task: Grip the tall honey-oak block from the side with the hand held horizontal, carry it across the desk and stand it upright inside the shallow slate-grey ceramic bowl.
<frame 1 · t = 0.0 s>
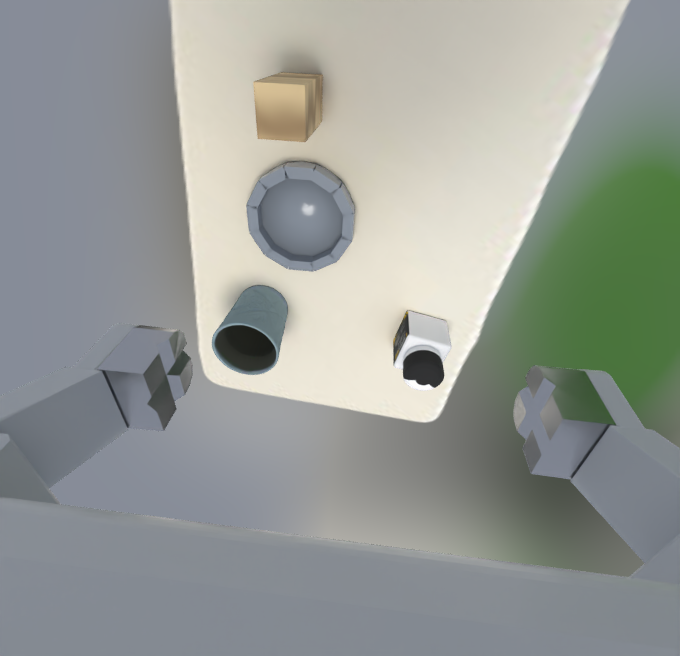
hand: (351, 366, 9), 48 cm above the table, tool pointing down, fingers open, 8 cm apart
blue-grey cup: (265, 306, 68), on the table
bowl: (303, 215, 57), on the table
oak block: (302, 97, 48), on the table
medicine bottle: (419, 330, 68), on the table
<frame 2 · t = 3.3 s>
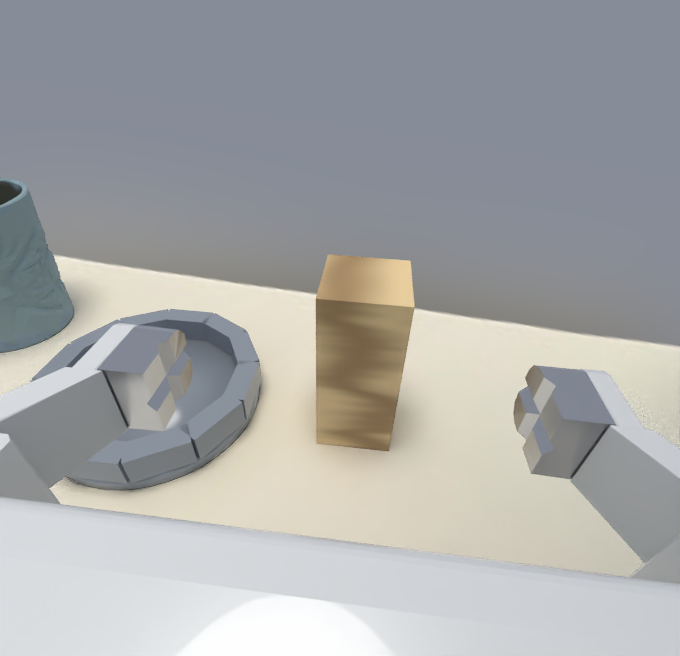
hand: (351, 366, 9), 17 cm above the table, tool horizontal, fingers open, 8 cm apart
blue-grey cup: (20, 326, 37), on the table
bowl: (160, 398, 30), on the table
oak block: (354, 418, 29), on the table
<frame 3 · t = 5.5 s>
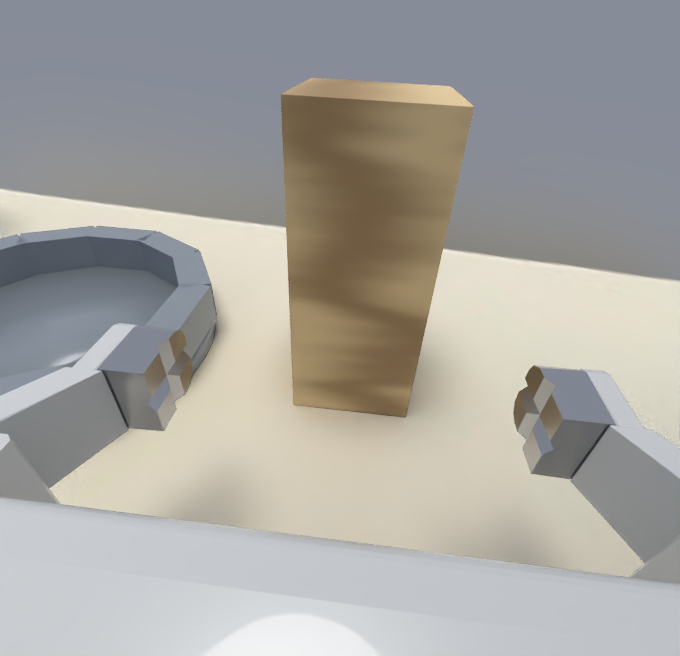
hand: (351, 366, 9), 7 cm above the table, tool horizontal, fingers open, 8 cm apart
bowl: (64, 340, 20), on the table
oak block: (353, 372, 19), on the table
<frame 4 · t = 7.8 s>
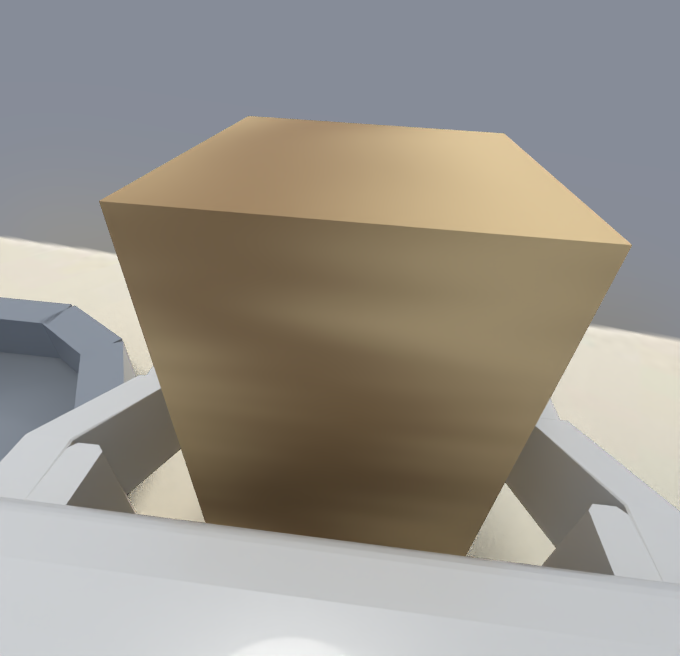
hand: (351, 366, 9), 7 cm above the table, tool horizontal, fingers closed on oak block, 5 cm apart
oak block: (336, 542, 13), on the table, touching gripper
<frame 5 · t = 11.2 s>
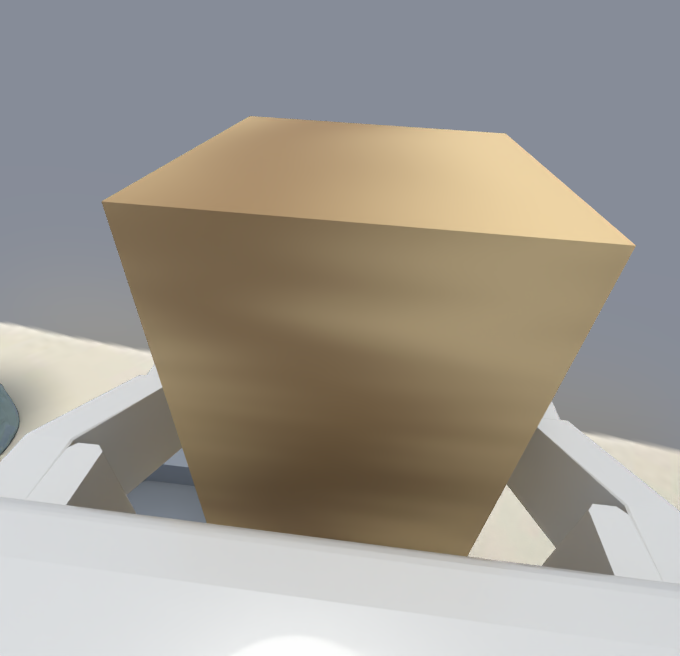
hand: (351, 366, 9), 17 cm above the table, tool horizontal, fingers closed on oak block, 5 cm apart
bowl: (124, 602, 20), on the table
oak block: (337, 542, 13), point 10 cm above the table, touching gripper
when the fingers open (9 cm above the table, at t = 14.5 s): oak block drops 1 cm, resting on bowl.
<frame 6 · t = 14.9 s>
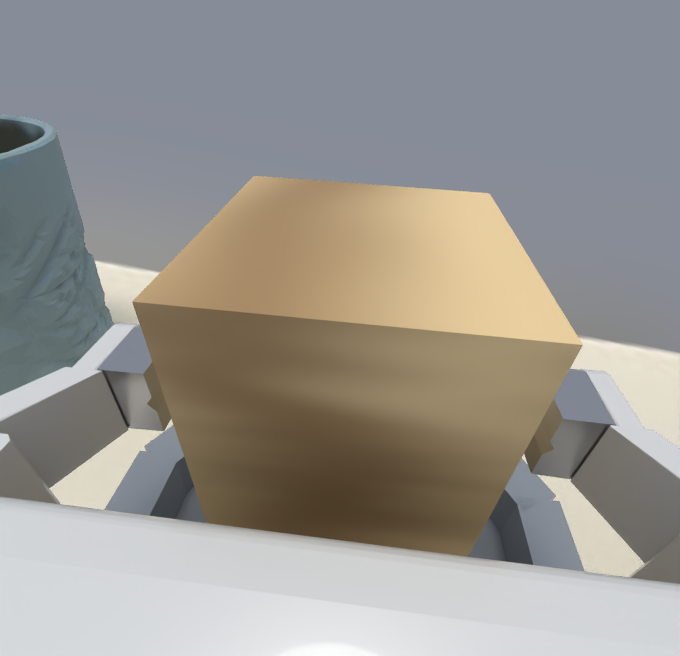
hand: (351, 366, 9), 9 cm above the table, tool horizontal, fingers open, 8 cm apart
blue-grey cup: (33, 386, 21), on the table
bowl: (334, 569, 14), on the table
oak block: (336, 558, 14), point 1 cm above the table, touching bowl
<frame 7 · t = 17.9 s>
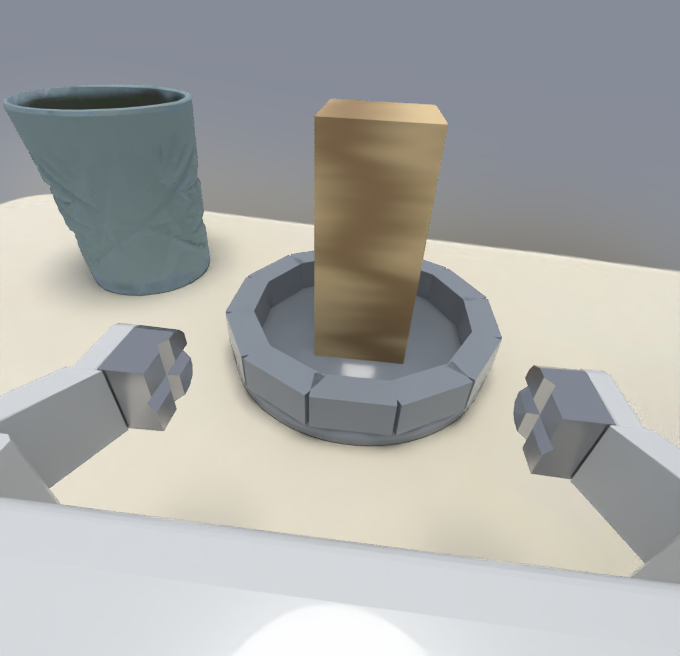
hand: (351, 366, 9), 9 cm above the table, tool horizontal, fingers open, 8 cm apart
blue-grey cup: (152, 270, 31), on the table
bowl: (359, 344, 24), on the table
oak block: (361, 332, 24), point 1 cm above the table, touching bowl
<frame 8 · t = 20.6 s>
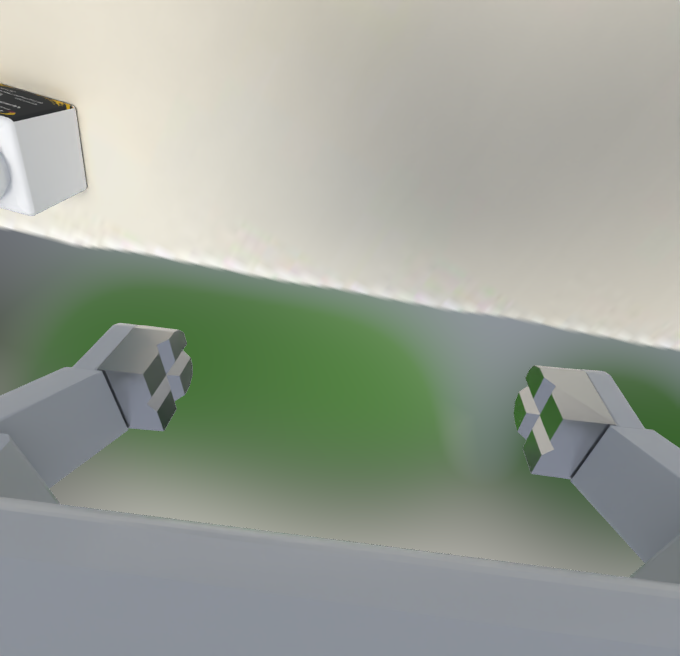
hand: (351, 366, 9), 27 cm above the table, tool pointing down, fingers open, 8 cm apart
medicine bottle: (43, 137, 34), on the table
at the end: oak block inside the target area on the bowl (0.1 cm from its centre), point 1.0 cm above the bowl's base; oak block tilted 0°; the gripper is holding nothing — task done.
